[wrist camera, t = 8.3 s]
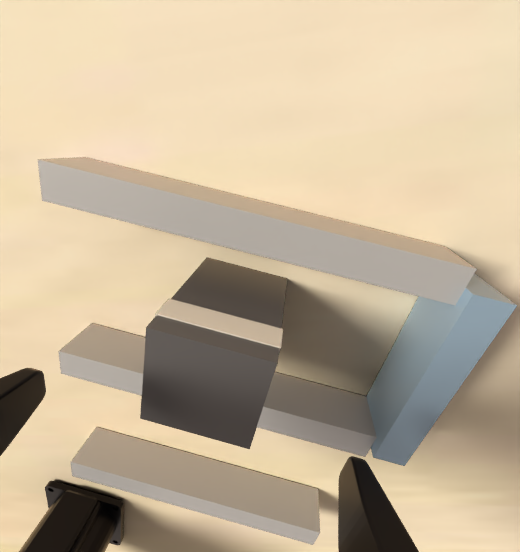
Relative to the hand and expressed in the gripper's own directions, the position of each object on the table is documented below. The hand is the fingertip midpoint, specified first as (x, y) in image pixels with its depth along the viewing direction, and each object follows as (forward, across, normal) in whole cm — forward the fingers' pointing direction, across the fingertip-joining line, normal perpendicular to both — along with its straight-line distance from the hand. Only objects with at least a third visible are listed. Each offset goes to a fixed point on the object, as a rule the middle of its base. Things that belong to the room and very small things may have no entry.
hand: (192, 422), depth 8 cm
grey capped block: (+7, 0, 0) cm, 7 cm away
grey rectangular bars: (+7, 0, +5) cm, 9 cm away
